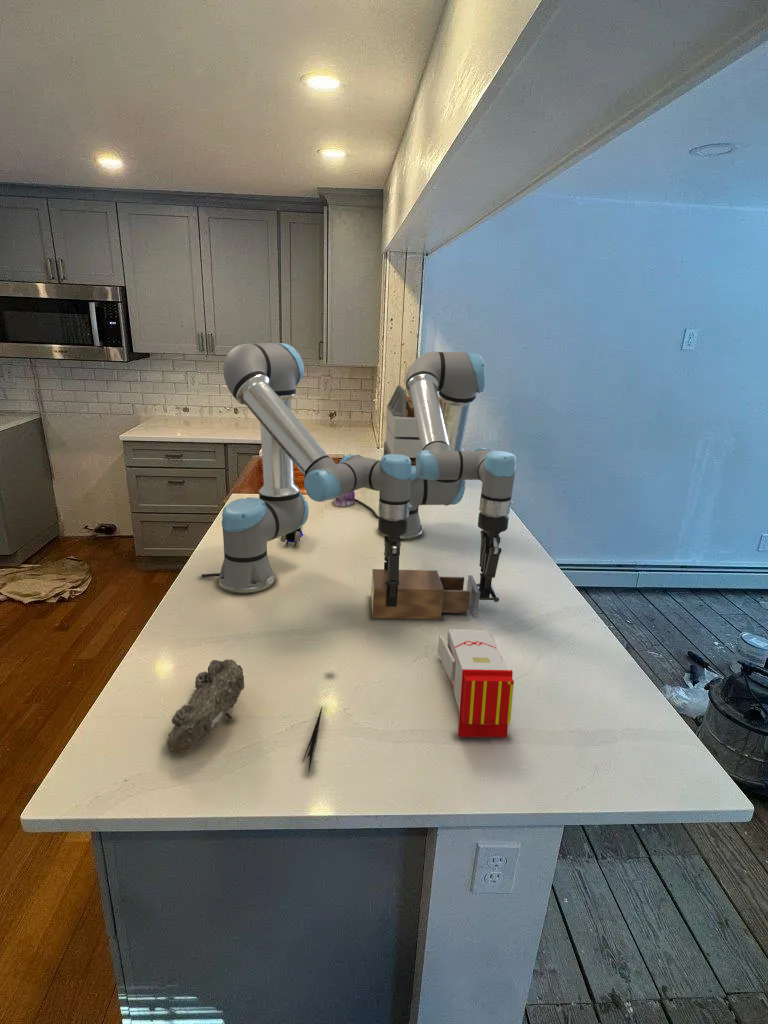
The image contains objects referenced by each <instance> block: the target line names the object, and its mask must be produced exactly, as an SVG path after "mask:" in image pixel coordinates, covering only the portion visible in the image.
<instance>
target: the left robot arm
mask: <svg viewBox="0 0 768 1024" xmlns="http://www.w3.org/2000/svg"><path fill="white" fill-rule="evenodd" d="M222 366H223V367H222V372H223V379H224V382H225V385H226V387H227V389H228V391H229V392H230V394H231V395H232V397H233V398H234V399H235V400H236V401H237V402H238V404H240V405H245V406H246V407H247V408H248V409H249V410H250V412H251V413H252V415H254V417H255V418H256V419H257V420H258V422H259V427H260V441H261V458H262V474H263V475H262V476H263V485H262V486H261V487H260V489H259V490H258V497H246V498H238V499H235V500H233V501H230V502H229V503H227V504H226V505H225V506H224V507H223V509H222V512H221V513H222V514H221V527H222V541H223V542H222V543H223V557H224V558H223V561H222V565H221V568H220V572H215V573H213V572H212V573H202V574H201V575H200V577H201V578H214V577H216V578H217V577H218V585H219V587H220V589H222V590H223V591H225V592H227V593H232V594H237V595H248V594H256V593H259V592H262V591H265V590H267V589H269V588H270V587H272V586H273V584H274V583H275V572H274V570H273V567H272V564H271V561H270V559H269V557H268V542H270V541H273V540H276V539H278V538H281V536H283V535H286V534H288V533H292V532H294V531H296V530H297V529H299V528H301V527H303V526H304V525H305V524H306V523H307V520H308V517H309V512H310V511H309V503H308V501H307V500H305V499H306V497H305V496H304V494H303V493H302V492H301V490H300V487H299V486H298V485H296V484H295V475H294V474H295V472H294V465H295V467H297V469H298V470H299V471H300V472H301V473H302V475H303V476H305V477H304V481H303V487H304V489H305V491H306V492H305V493H306V495H307V496H308V497H309V498H310V500H311V501H312V500H313V501H314V502H318V503H322V502H327V501H331V500H335V498H336V497H338V496H341V495H343V494H346V493H349V492H352V491H354V492H355V491H357V490H360V489H368V490H372V491H378V492H379V495H378V496H379V499H378V516H379V519H378V523H377V524H378V526H377V530H378V533H379V534H380V533H382V534H384V535H386V536H383V542H384V551H383V555H384V558H383V560H384V564H383V569H388V581H387V582H385V584H387V593H386V607H397V593H398V586H399V570H400V556H401V546H402V540H400V535H404V534H406V533H407V531H408V518H407V517H408V516H409V509H408V508H411V507H412V506H411V504H409V499H410V484H411V477H412V473H411V460H410V458H409V457H407V456H405V455H401V454H387V455H384V454H383V455H382V456H381V458H380V460H379V459H375V458H370V457H367V456H363V455H360V454H345V455H344V456H343V457H342V459H340V460H339V461H338V463H335V461H334V460H333V459H332V458H331V457H330V455H328V453H327V452H326V450H325V449H323V447H322V446H321V445H320V444H319V442H318V441H317V440H316V439H315V438H314V437H313V435H312V434H311V433H310V432H309V431H308V430H307V428H306V427H305V426H304V425H303V424H302V422H301V421H300V420H299V418H297V416H296V415H295V414H294V413H293V412H292V404H291V403H292V400H293V398H294V397H295V396H296V395H297V390H296V389H297V387H296V386H298V385H299V384H300V383H301V381H302V379H303V378H304V373H305V367H304V362H303V360H302V357H301V354H300V353H299V351H297V350H296V349H295V347H294V346H292V345H290V344H289V343H284V342H263V343H242V344H239V345H237V346H235V347H233V348H232V349H231V350H230V351H229V352H228V353H227V355H226V357H225V359H224V361H223V365H222Z"/></svg>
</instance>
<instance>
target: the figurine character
mask: <svg viewBox="0 0 768 1024" xmlns="http://www.w3.org/2000/svg"><path fill="white" fill-rule="evenodd" d="M303 536H304V533H303V526H302V527H301V528H299V529H297V530H296V531H294V532H292V533H288V534H286V535H283V536H281V537H280V542H282V543H285V547H288V546H289V543H291V544H292V543H293V544H294V545H293V546H294V547H297V545H298V543H299V542H301V538H302V537H303Z"/></svg>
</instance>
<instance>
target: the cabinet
mask: <svg viewBox="0 0 768 1024" xmlns="http://www.w3.org/2000/svg"><path fill="white" fill-rule="evenodd" d="M439 574H440V573H439V571H438V570H429V569H425V570H424V569H399V586H398V593H397V607H386V593H387V584H385V582H387V581H388V569H384V568H376V569H375V568H372V570H371V591H370V601H371V603H370V604H371V616H372V619H392V620H393V619H400V620H441V619H442V613H441V612H442V602H443V592H444V589H443V586H442V583H441V580H440V577H441V576H440V575H439Z"/></svg>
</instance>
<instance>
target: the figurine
mask: <svg viewBox="0 0 768 1024" xmlns="http://www.w3.org/2000/svg"><path fill="white" fill-rule="evenodd" d="M354 499H356V493H355V491H352V492H349V493H346V494H343V495H341V496H338V497H336V498H335V499H334V502H333V503H334V505H335V506H336V507H348V506H351V505H353V504H354V503H355V501H354Z"/></svg>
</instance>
